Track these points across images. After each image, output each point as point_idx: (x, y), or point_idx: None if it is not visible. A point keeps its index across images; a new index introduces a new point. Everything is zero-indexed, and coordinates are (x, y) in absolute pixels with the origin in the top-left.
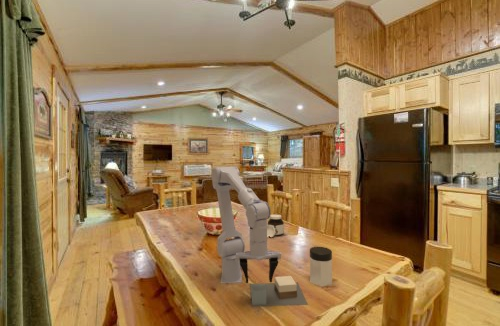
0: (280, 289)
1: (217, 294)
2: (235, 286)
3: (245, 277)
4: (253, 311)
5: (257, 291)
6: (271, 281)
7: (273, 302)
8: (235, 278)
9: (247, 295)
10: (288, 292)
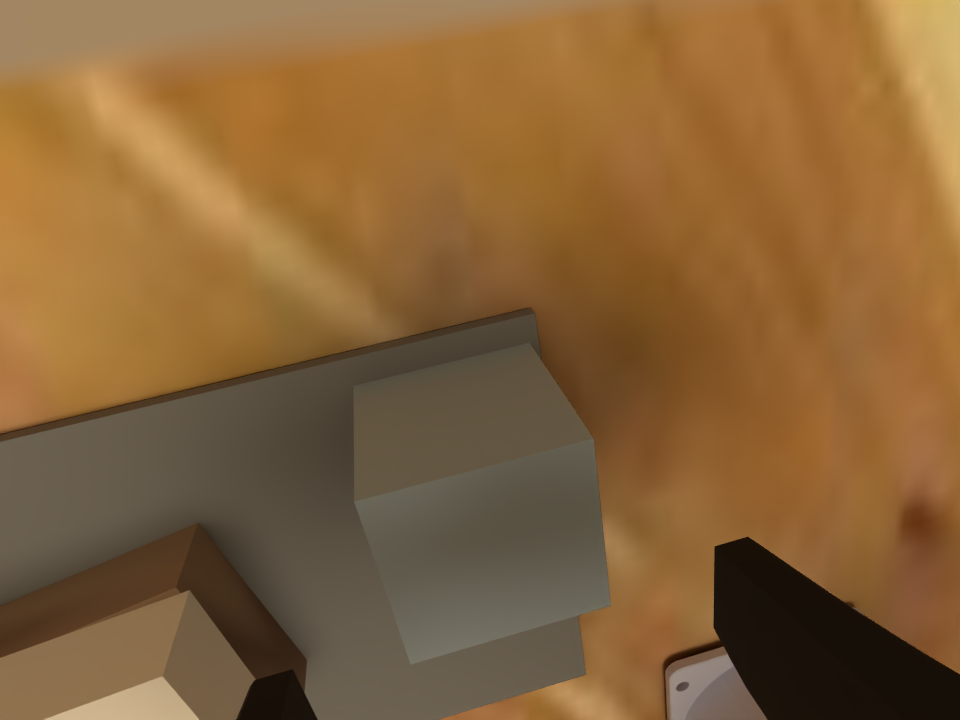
0: (158, 630)
1: (892, 454)
2: None
3: (853, 610)
4: (500, 241)
5: (504, 455)
6: (254, 691)
7: (268, 444)
8: (745, 694)
9: None
10: (57, 627)
